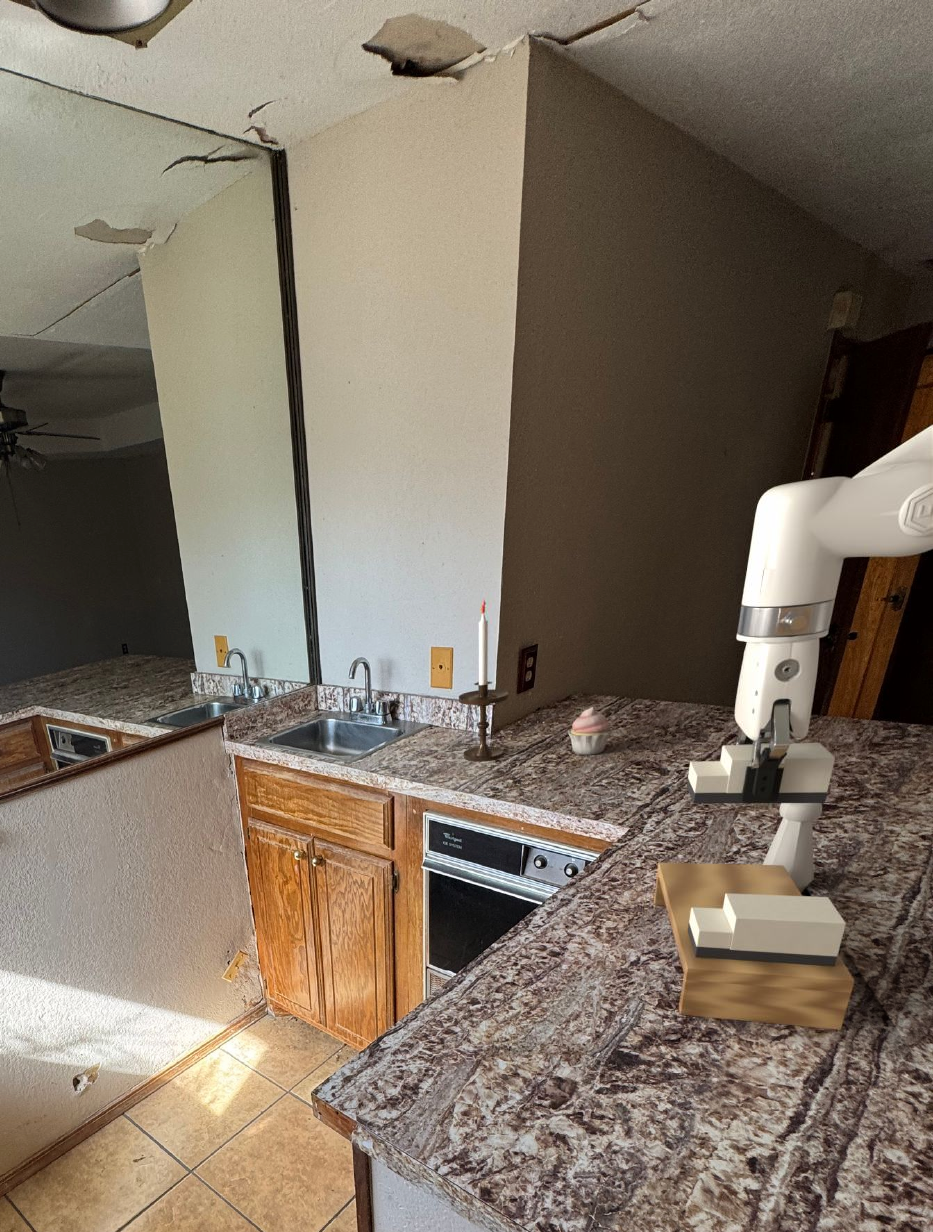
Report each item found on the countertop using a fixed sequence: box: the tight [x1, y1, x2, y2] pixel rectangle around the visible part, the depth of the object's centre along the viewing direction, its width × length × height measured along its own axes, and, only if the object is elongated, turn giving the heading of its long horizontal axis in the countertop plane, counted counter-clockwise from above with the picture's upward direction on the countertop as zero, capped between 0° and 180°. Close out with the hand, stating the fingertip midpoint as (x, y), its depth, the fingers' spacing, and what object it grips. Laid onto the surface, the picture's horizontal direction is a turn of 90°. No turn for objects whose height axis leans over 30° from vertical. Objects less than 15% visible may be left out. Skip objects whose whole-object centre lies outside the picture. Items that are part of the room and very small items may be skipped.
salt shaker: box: [761, 803, 823, 894], centre depth 90 cm, size 6×6×13 cm
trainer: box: [686, 742, 836, 804], centre depth 76 cm, size 12×6×5 cm, turn 69°
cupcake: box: [567, 706, 614, 756], centre depth 154 cm, size 9×9×10 cm
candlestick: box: [458, 599, 509, 762], centre depth 156 cm, size 11×11×35 cm
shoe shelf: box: [653, 861, 856, 1031], centre depth 81 cm, size 14×26×6 cm, turn 159°
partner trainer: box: [688, 893, 847, 966], centre depth 72 cm, size 12×6×5 cm, turn 69°
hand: (752, 790), depth 77 cm, fingers closed on trainer, 5 cm apart
